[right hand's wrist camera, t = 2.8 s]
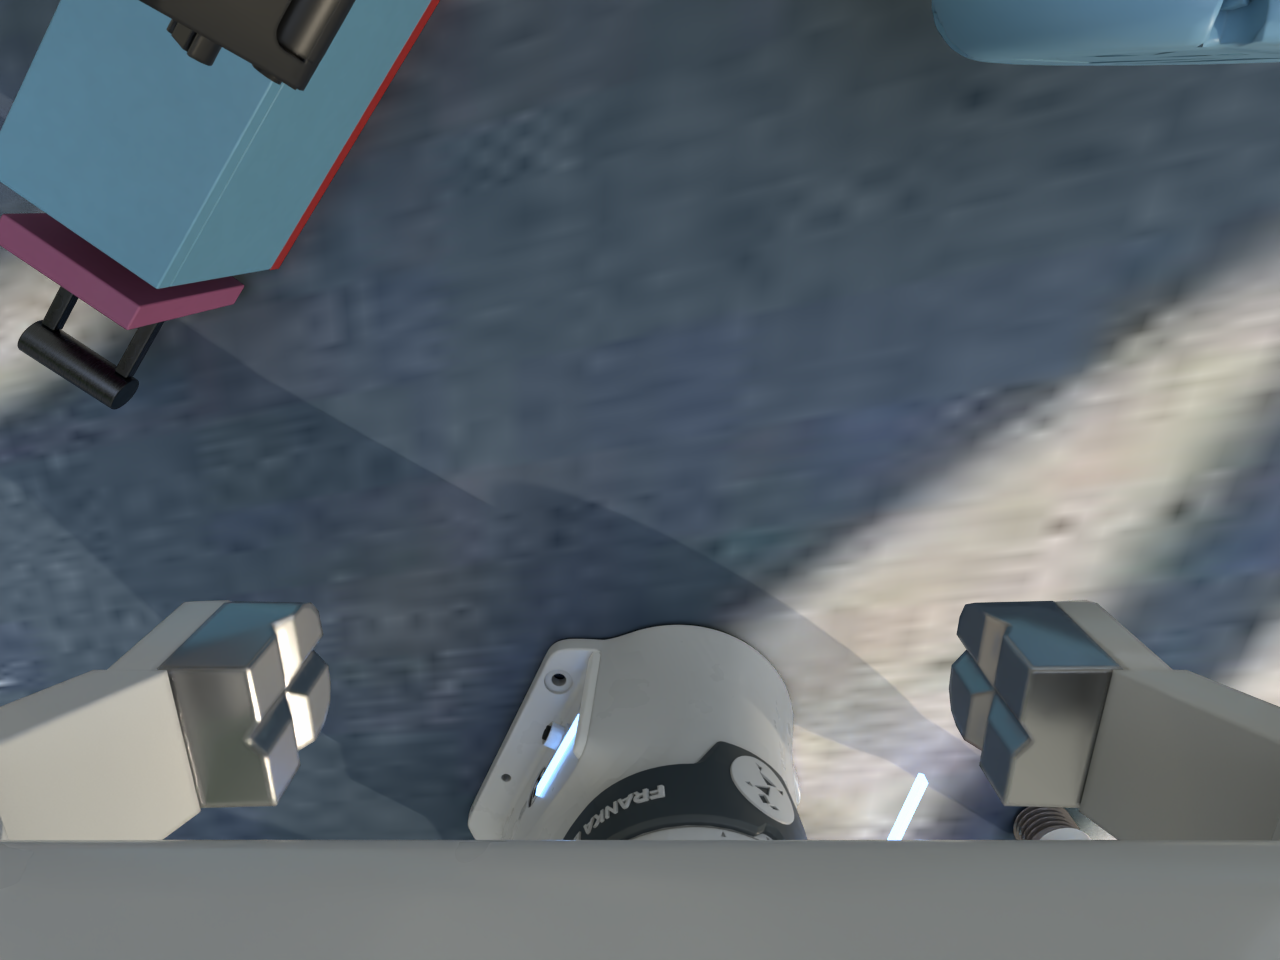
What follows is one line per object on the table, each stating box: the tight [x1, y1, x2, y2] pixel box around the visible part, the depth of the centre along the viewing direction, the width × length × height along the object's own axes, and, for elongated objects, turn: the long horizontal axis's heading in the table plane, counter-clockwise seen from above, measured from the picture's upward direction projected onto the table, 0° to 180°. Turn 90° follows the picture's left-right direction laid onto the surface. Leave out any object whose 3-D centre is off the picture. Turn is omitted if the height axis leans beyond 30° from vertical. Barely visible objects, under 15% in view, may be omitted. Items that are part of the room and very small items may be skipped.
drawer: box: [0, 213, 244, 409], centre depth 33 cm, size 21×6×9 cm, turn 142°
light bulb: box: [1013, 806, 1091, 840], centre depth 46 cm, size 7×7×11 cm
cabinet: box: [0, 0, 440, 289], centre depth 31 cm, size 17×7×10 cm, turn 142°
